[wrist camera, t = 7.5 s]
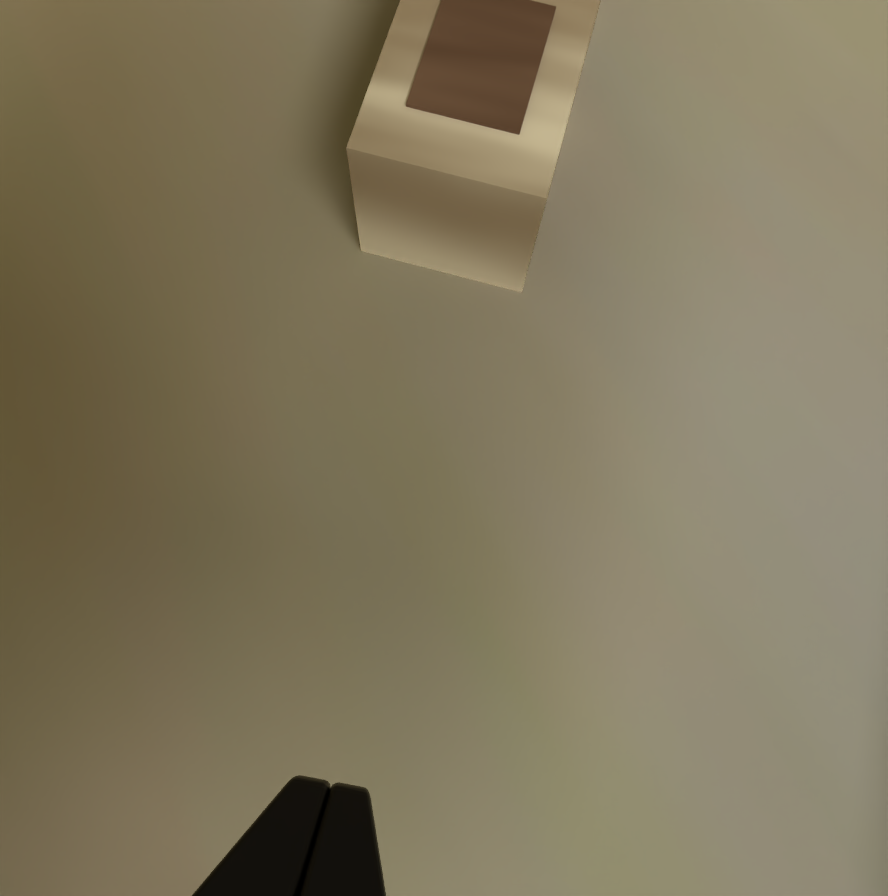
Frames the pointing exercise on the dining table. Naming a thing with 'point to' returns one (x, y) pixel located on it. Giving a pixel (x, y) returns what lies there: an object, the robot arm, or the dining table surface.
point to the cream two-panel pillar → (466, 132)
